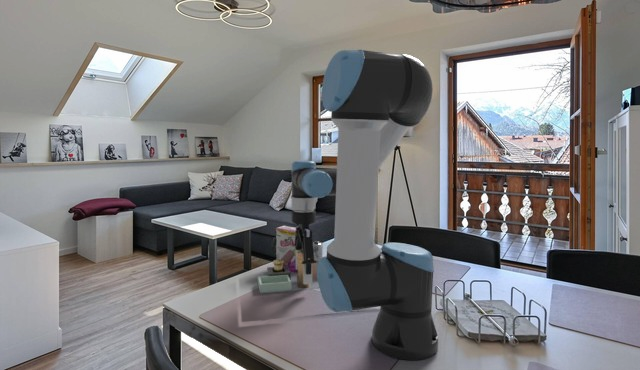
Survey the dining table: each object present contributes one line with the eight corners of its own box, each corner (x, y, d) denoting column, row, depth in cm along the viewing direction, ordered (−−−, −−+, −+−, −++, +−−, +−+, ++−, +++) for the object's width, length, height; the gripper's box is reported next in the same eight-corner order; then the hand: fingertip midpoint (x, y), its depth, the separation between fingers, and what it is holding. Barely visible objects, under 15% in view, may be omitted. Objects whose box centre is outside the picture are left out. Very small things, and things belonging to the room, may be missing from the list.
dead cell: (323, 275, 129) (323, 242, 128) (312, 276, 128) (312, 243, 127) (320, 271, 133) (320, 239, 132) (309, 272, 132) (309, 240, 131)
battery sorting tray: (336, 289, 120) (336, 271, 119) (260, 296, 114) (260, 277, 113) (323, 272, 135) (323, 256, 134) (256, 278, 129) (256, 261, 129)
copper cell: (310, 287, 119) (311, 252, 117) (298, 288, 118) (298, 252, 116) (308, 283, 122) (308, 248, 121) (296, 284, 121) (296, 249, 120)
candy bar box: (275, 271, 137) (274, 227, 135) (283, 267, 141) (283, 225, 140) (300, 277, 131) (300, 231, 129) (308, 273, 135) (308, 229, 134)
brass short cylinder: (284, 275, 125) (284, 262, 124) (273, 276, 124) (273, 263, 123) (283, 271, 128) (283, 259, 128) (272, 272, 127) (272, 259, 127)
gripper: (325, 217, 106) (324, 289, 109) (307, 203, 130) (307, 262, 132) (299, 218, 104) (298, 292, 107) (286, 204, 128) (286, 264, 131)
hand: (303, 276), depth 120 cm, fingers open, 12 cm apart
